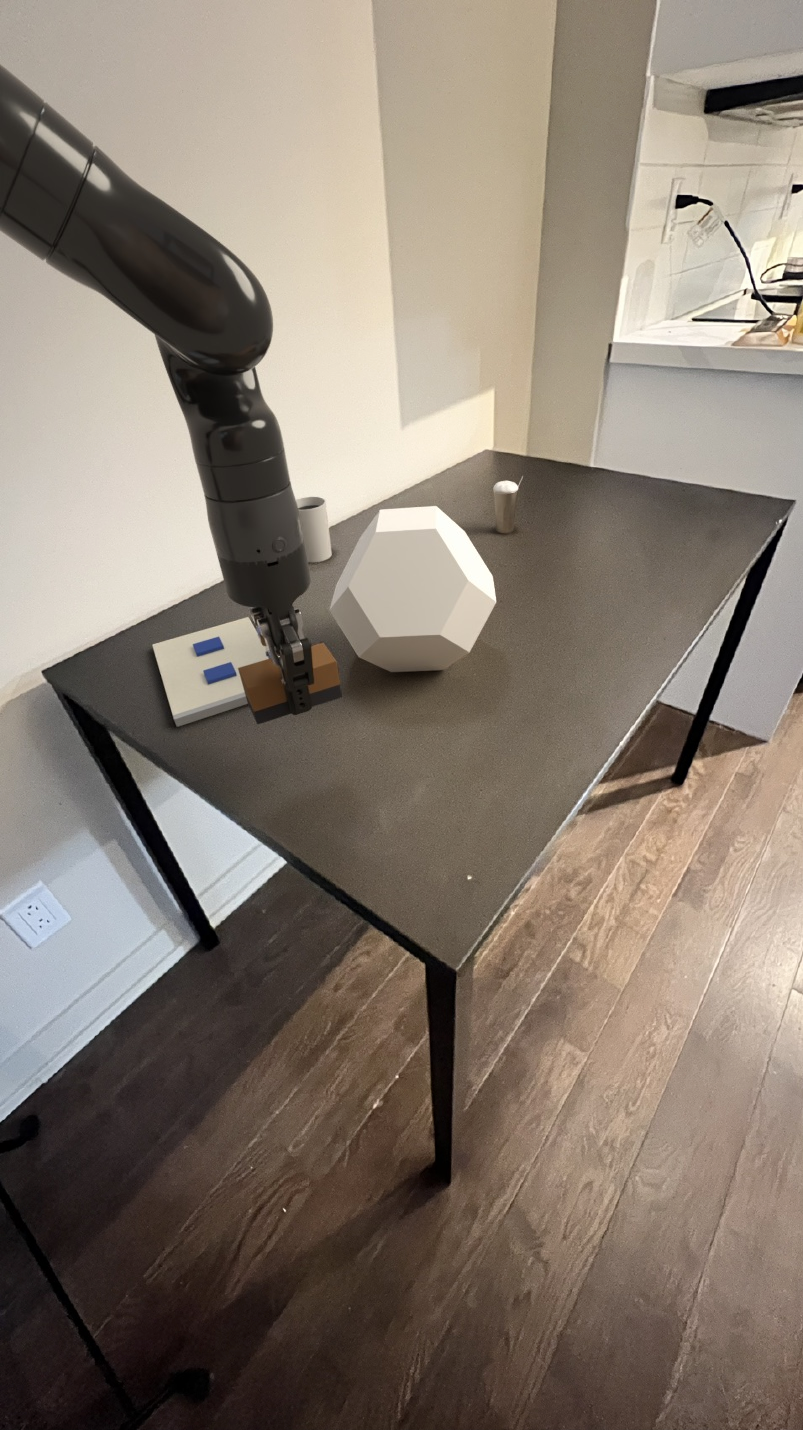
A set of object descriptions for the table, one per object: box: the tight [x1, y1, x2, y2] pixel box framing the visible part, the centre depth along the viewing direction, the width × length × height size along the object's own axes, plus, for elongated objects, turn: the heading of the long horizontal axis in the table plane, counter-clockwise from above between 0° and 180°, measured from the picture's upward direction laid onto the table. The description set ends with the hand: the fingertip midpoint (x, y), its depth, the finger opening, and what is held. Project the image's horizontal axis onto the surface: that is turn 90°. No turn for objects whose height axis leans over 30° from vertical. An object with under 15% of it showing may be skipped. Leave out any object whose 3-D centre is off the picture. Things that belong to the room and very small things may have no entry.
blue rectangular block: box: [203, 662, 237, 684], centre depth 86 cm, size 4×3×1 cm
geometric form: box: [328, 505, 497, 673], centre depth 82 cm, size 20×20×20 cm
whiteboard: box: [152, 616, 269, 728], centre depth 89 cm, size 15×21×1 cm
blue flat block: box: [193, 637, 224, 657], centre depth 92 cm, size 4×3×1 cm
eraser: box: [238, 642, 343, 725], centre depth 63 cm, size 4×9×4 cm, turn 115°
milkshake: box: [492, 475, 524, 534], centre depth 116 cm, size 5×5×10 cm
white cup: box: [296, 496, 333, 563], centre depth 114 cm, size 7×7×10 cm
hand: (294, 698), depth 64 cm, fingers closed on eraser, 4 cm apart
